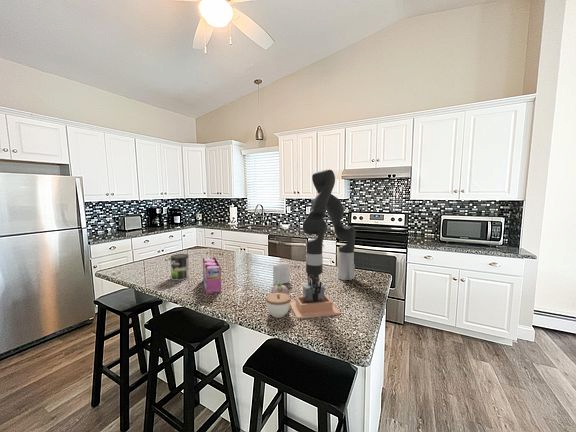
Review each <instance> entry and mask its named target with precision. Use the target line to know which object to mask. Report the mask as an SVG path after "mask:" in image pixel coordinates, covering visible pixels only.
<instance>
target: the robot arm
mask: <svg viewBox="0 0 576 432" xmlns="http://www.w3.org/2000/svg"><path fill="white" fill-rule="evenodd" d="M311 180H312V184H313V187H314V188H315V190H316V191H317V195H316V196H315V197H314V199H313V201H312V202H311V203H312V204H311V208H310V212H308V214H307V216H306V218H304V221H303V223H302V231H303V233H305V234H306V235H315V236H317V237H316V238H311V239H308V240H307V242H306V256H305V272H306V275H307V276H306V277H307V285H311V286H312V288H313V301H318V293H320V291H321V285H323V283H322V281H320V275H321V274H323V270H324V269H323V263H324V262H323V261H324V260H323V259H324V258H323V257H324V256H323V242H324V237H325V234H326V232H327V228H328V226H327V222H326V220H325V219H324V218H325V216H326V213H327V214H328V217H329V218H330V219H329V220H330V221H331V224H332V226H333V229H334V233H335V235H336V238H337V239H338V240H340V241H346V244H344V245H343V244H342V245H340V246H338V260H337V261H338V262H337V263H338V266H337V267H338V268H337V278H338V279H339V280H340V279H341V281H345V280H350V281H353V280H355V272H356V271H355V267H356V265H355V262H354V258H355V257H354V256H355V255H354V254H355V246H356V234H357V233H356V228H355V226H351V225H344V224H342V218H343V216H344V213H345V209H344V207H343V204H342V201H341V200H340V199H339V198H338V197H337V196H335V195H334V194H332V192H333V189H334V187H335V183H336V175H335V173H334V171H333V170H332V169H325V170H319V171H315V172H314V173H312V175H311ZM352 279H353V280H352ZM313 285H315V286H313ZM316 290H317V291H316Z"/></svg>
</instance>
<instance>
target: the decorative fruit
mask: <svg viewBox="0 0 576 432" xmlns="http://www.w3.org/2000/svg"><path fill="white" fill-rule="evenodd" d="M289 291H290V290H289V289H288V288H287V286H286V285H284V284H280V283H279V284H277V285H274V286H273V287H271V290H270V294H272V293H285V294H288V295H289V296H290V292H289Z"/></svg>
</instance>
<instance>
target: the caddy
mask: <svg viewBox="0 0 576 432" xmlns="http://www.w3.org/2000/svg"><path fill="white" fill-rule="evenodd" d="M289 308H290V309H291V310H292V313H293V315H294V316H295V318H296V320H300V319H310V318H311V319H312V318H321V317H329V316H339V315H341V314H342V312H341V311H340V310H339V309H338V308H337V306H335V304H334V302H333V301H332V300H331V298H329V296H328V295H327V294H325V293H324V302H317V303H306V304H304V303H303V295H302V296H295V300H292V301H291V300H290V307H289Z"/></svg>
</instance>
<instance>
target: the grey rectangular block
mask: <svg viewBox="0 0 576 432" xmlns="http://www.w3.org/2000/svg"><path fill="white" fill-rule="evenodd" d="M302 286H303V287H302V296H303V303H304V304H306V303H317V302H324V294H325V292H326V291H325V286H324V285H323V284H322V285H321V291H320V293H318V301H313V288H312V286H311V285H308V284H303V285H302ZM313 286H315V285H313ZM316 291H317V290H316Z"/></svg>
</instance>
